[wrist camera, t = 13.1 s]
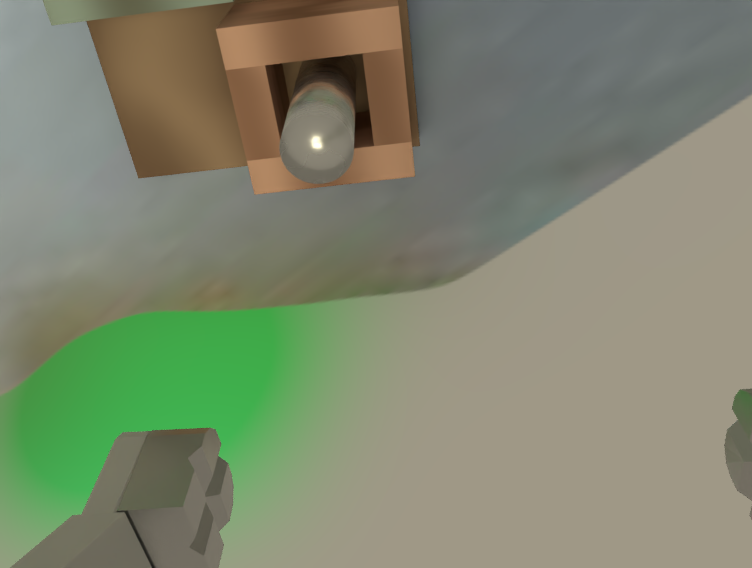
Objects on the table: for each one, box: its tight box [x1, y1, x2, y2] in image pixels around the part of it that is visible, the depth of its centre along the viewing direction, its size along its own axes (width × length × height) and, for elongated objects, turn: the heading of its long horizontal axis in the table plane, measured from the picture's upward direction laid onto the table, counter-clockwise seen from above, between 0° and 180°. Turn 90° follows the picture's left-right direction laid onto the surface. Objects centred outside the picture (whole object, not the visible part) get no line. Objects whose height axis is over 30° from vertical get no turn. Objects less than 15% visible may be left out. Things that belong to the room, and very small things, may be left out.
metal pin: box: [279, 55, 357, 184], centre depth 32 cm, size 3×3×10 cm
